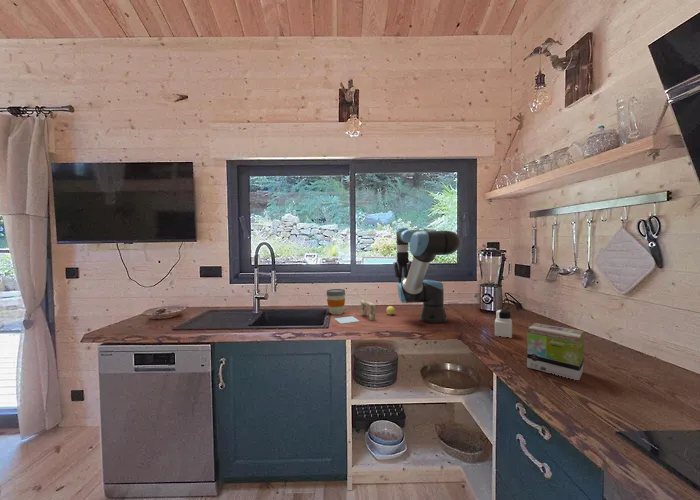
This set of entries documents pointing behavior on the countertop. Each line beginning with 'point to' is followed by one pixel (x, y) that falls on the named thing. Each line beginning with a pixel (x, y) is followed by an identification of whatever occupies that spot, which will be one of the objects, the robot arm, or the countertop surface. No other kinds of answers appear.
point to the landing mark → (346, 320)
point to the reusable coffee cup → (336, 300)
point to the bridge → (371, 309)
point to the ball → (390, 310)
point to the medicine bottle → (503, 324)
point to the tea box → (555, 350)
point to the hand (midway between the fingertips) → (403, 287)
